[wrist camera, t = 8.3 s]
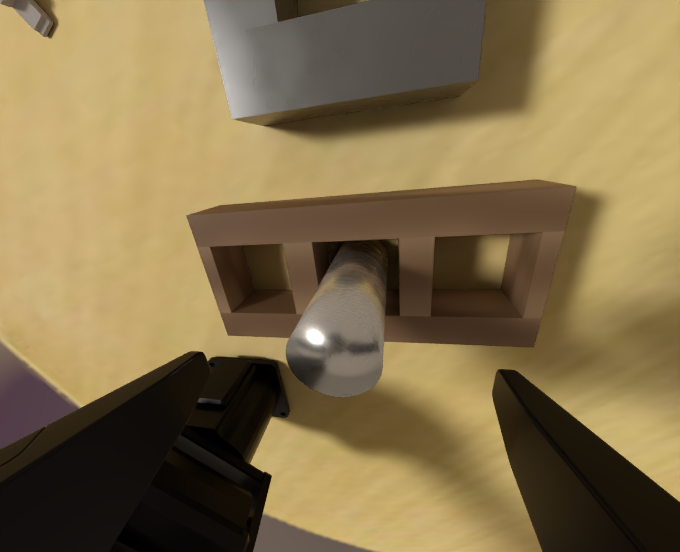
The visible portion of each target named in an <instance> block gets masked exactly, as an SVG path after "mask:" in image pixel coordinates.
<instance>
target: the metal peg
mask: <svg viewBox="0 0 680 552" xmlns="http://www.w3.org/2000/svg"><path fill="white" fill-rule="evenodd" d="M387 264H388V257H387V252H386V250H385V248H384V247H383V245H382V244H381V243H380V242H379V241H378V240H376V239H375V240H352V241H345V242H344V243H343V244H342V245H341V247H340V249H339V251H338V252H337V254H336V256H335V258H334V260H333V261H332V263H331V265H330V267H329V269H328V270H327V272H326V274H325V276H324V277H323V279H322V281H321V283H320V285H319V286H318V288H317V290H316V292H315V294H314V295H313V297H312V299H311V301H310V303H309V304H308V306H307V308H306V310H305V312H304V313H303V315H302V317H301V319H300V320H299V322H298V324H297V326H296V328H295V329H294V331H293V333H292V335H291V337H290V338H289V340H288V343H287V346H286V358H287V362H288V365H289V367H290V369H291V370H292V372H293V373H294V375H295V376H296V377H297V378H298V379H299V380H300V381H301V382H302V383H304V384H305V385H306V386H308V387H309V388H311V389H313V390H315V391H317V392H319V393H322V394H325V395H329V396H335V397H351V396H356V395H360V394H362V393H365V392H367V391H368V390H370V389H371V388H372V387H374V386H375V384H376V383H377V382H378V380H379V379H380V377H381V374H382V368H383V347H384V327H385V306H386V285H387Z"/></svg>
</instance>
